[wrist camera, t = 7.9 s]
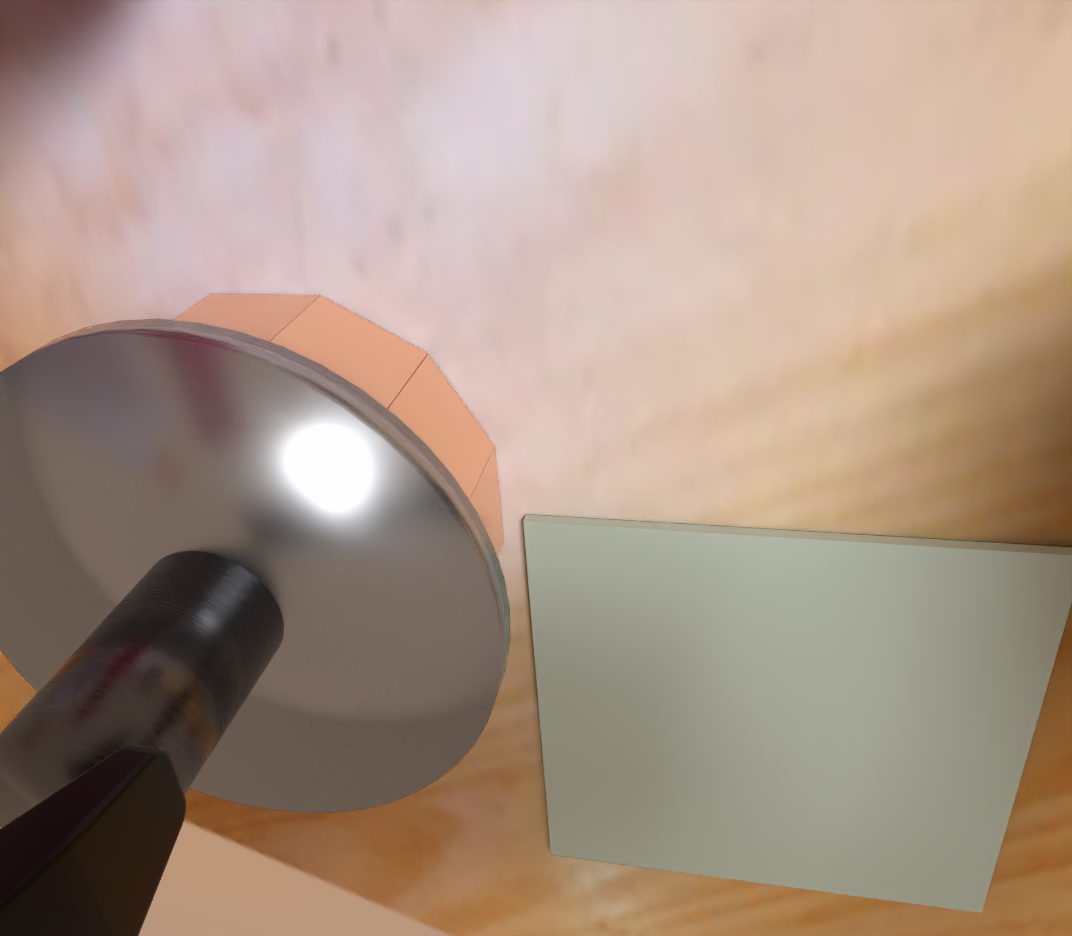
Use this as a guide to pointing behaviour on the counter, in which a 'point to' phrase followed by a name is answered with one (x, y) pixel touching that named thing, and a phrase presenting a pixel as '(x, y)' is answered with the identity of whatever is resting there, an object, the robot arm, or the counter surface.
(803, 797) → the mat
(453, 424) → the bowl
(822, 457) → the counter surface
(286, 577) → the lid
